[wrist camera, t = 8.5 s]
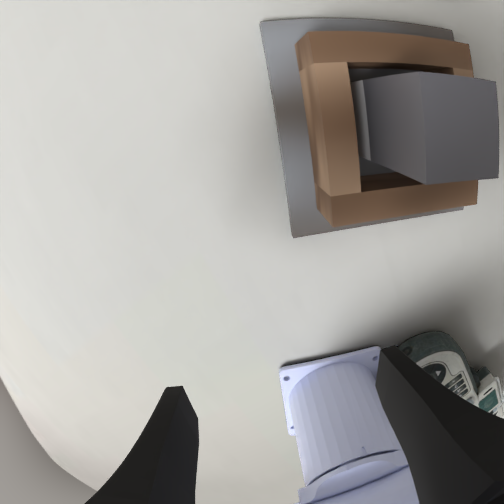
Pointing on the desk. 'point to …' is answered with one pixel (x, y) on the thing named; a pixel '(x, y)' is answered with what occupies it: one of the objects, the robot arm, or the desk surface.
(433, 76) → the connector plug
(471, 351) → the desk surface
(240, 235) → the desk surface
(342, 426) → the robot arm
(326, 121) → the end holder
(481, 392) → the communication device
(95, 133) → the desk surface
